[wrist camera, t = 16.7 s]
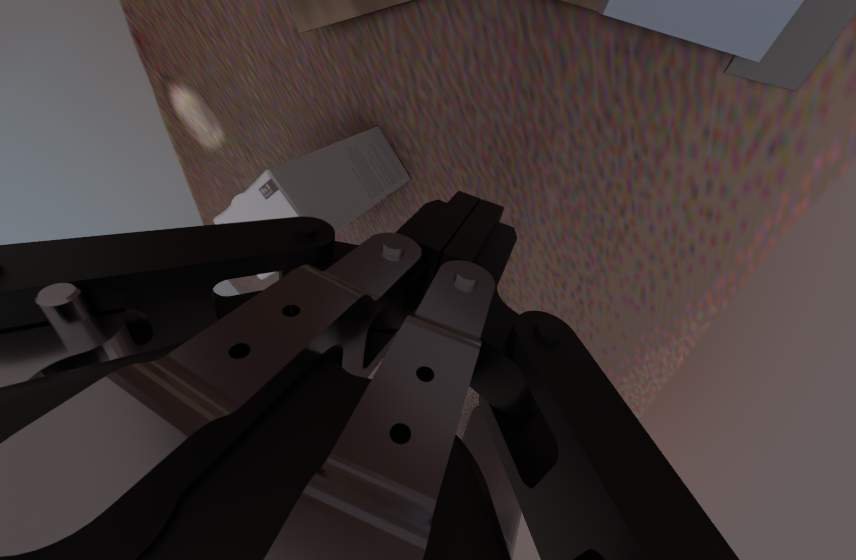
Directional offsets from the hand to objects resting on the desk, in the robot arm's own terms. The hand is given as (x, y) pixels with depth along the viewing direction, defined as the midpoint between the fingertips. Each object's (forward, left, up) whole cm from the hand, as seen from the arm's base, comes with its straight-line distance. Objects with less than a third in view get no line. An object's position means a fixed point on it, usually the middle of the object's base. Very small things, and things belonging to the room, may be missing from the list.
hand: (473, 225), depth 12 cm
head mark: (+8, -11, -21) cm, 25 cm away
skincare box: (-10, +15, -21) cm, 28 cm away
